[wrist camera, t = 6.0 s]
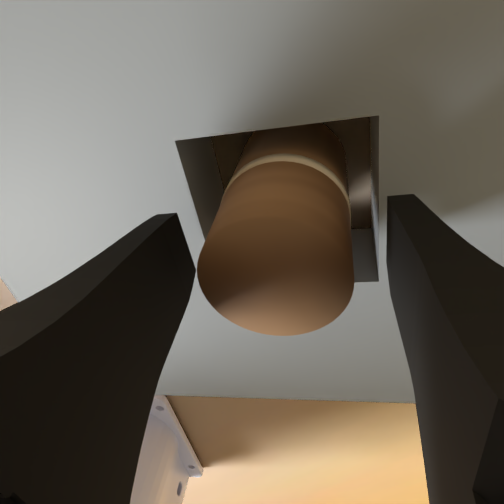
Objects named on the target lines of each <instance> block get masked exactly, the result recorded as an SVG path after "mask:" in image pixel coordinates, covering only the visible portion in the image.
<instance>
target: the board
mask: <svg viewBox="0 0 504 504" xmlns="http://www.w3.org/2000/svg"><path fill="white" fill-rule="evenodd" d="M362 117H370V144H371V228H362V229H351V237H352V252H353V267H354V290H353V295H352V297H351V300H350V302H349V304H348V306H347V307H346V309H345V310H344V311H343V312H342V313H341V315H340V316H339V317H337V318H336V319H335V320H334V321H332V322H331V323H329V324H328V325H326V326H324V327H322V328H320V329H318V330H315V331H312V332H309V333H305V334H300V335H293V336H274V335H266V334H261V333H257V332H254V331H250V330H247V329H245V328H242V327H240V326H238V325H236V324H234V323H232V322H231V321H229V320H228V319H226V318H225V317H223V316H222V315H221V314H220V313H218V312H217V311H216V310H215V309H214V308H213V307H212V306H211V304H210V303H209V302H208V301H207V299H206V298H205V296H204V294H203V293H202V290H201V288H200V286H199V282H198V278H197V262H198V258H199V255H200V252H201V250H202V247H203V245H204V243H205V240H206V238H207V235H208V233H209V231H210V228H211V226H212V224H213V221H214V219H215V216H216V214H217V212H218V209H219V207H220V204H221V201H222V197H223V195H224V189H223V184H222V180H221V176H220V172H219V168H218V164H217V160H216V156H215V152H214V148H213V144H212V140H211V136H217V135H225V134H233V133H241V132H249V131H257V130H265V129H273V128H281V127H289V126H297V125H305V124H313V123H321V122H329V121H338V120H346V119H354V118H362ZM406 194H414V195H416V196H417V197H418V198H419V199H420V200H421V201H422V202H423V203H424V204H425V205H426V206H427V207H428V208H429V209H431V210H432V211H433V212H434V213H435V214H436V215H437V216H438V217H439V218H440V219H441V220H442V221H444V222H445V223H446V224H447V225H448V226H449V227H450V228H452V229H453V230H454V231H455V232H456V233H457V234H459V235H460V236H461V237H462V238H463V239H465V240H466V241H467V242H469V243H470V244H471V245H473V246H474V247H475V248H477V249H478V250H479V251H481V252H482V253H484V254H485V255H486V256H488V257H489V258H491V259H492V260H493V261H495V262H497V263H498V264H500V265H501V266H503V267H504V0H0V278H1V279H2V280H3V282H4V283H5V285H6V286H7V287H8V289H9V290H10V292H11V293H12V295H13V296H14V297H15V299H16V300H17V302H20V301H22V300H24V299H26V298H28V297H30V296H32V295H34V294H35V293H37V292H39V291H41V290H43V289H44V288H46V287H48V286H50V285H51V284H53V283H55V282H57V281H58V280H60V279H62V278H63V277H65V276H66V275H68V274H70V273H71V272H73V271H74V270H76V269H77V268H79V267H80V266H82V265H83V264H85V263H86V262H88V261H89V260H91V259H92V258H94V257H95V256H96V255H98V254H99V253H101V252H102V251H104V250H105V249H106V248H108V247H109V246H111V245H112V244H113V243H115V242H116V241H118V240H119V239H120V238H122V237H123V236H125V235H126V234H127V233H129V232H130V231H132V230H133V229H134V228H136V227H137V226H139V225H140V224H142V223H143V222H145V221H146V220H148V219H149V218H151V217H153V216H155V215H157V214H168V213H177V214H178V217H179V220H180V223H181V226H182V229H183V232H184V235H185V238H186V241H187V244H188V247H189V250H190V253H191V256H192V259H193V262H194V265H195V268H196V274H195V278H194V283H193V288H192V292H191V296H190V300H189V303H188V305H187V308H186V311H185V313H184V316H183V318H182V321H181V324H180V326H179V329H178V331H177V334H176V336H175V339H174V341H173V344H172V346H171V349H170V351H169V354H168V356H167V359H166V361H165V364H164V366H163V369H162V372H161V375H160V378H159V381H158V384H157V388H156V392H155V395H170V396H201V397H233V398H264V399H295V400H327V401H358V402H389V403H416V402H415V395H414V389H413V384H412V379H411V374H410V369H409V366H408V362H407V358H406V354H405V350H404V346H403V342H402V339H401V335H400V331H399V327H398V323H397V319H396V315H395V311H394V308H393V304H392V300H391V296H390V288H389V281H388V272H387V264H386V245H387V196H393V195H406Z"/></svg>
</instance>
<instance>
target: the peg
mask: <svg viewBox="0 0 504 504" xmlns="http://www.w3.org/2000/svg"><path fill="white" fill-rule="evenodd" d="M197 278H198V282H199V286H200V288H201V290H202V293H203V294H204V296H205V298H206V299H207V301H208V302H209V303H210V304H211V306H212V307H213V308H214V309H215V310H216V311H217V312H218V313H220V314H221V315H222V316H223V317H225V318H226V319H228V320H229V321H231V322H232V323H234V324H236V325H238V326H240V327H242V328H245V329H247V330H250V331H254V332H257V333H261V334H266V335H274V336H293V335H300V334H305V333H309V332H312V331H315V330H318V329H320V328H322V327H324V326H326V325H328V324H329V323H331V322H332V321H334V320H335V319H336V318H337V317H339V316H340V315H341V313H342V312H343V311H344V310H345V309H346V307H347V306H348V304H349V302H350V300H351V297H352V295H353V290H354V267H353V252H352V237H351V208H350V201H349V194H348V179H347V165H346V156H345V152H344V149H343V147H342V144H341V142H340V141H339V139H338V138H337V136H336V135H335V134H334V133H333V132H332V131H331V130H330V129H329V128H328V127H326V126H325V125H323V124H322V123H313V124H305V125H297V126H289V127H281V128H273V129H265V130H257V131H255V132H254V133H253V134H252V135H251V137H250V138H249V140H248V141H247V143H246V145H245V148H244V150H243V152H242V155H241V157H240V159H239V162H238V164H237V167H236V169H235V171H234V174H233V176H232V178H231V180H230V182H229V183H228V185H227V188H226V190H225V192H224V195H223V197H222V201H221V204H220V207H219V209H218V212H217V214H216V216H215V219H214V221H213V224H212V226H211V228H210V231H209V233H208V235H207V238H206V240H205V243H204V245H203V247H202V250H201V252H200V255H199V258H198V262H197Z"/></svg>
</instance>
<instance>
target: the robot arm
mask: <svg viewBox="0 0 504 504" xmlns="http://www.w3.org/2000/svg"><path fill="white" fill-rule="evenodd" d="M386 264H387V272H388V281H389V288H390V296H391V300H392V304H393V308H394V311H395V315H396V319H397V323H398V327H399V331H400V335H401V339H402V342H403V346H404V350H405V354H406V358H407V362H408V366H409V369H410V374H411V379H412V384H413V389H414V395H415V402H416V409H417V416H418V422H419V429H420V436H421V444H422V451H423V458H424V465H425V472H426V480H427V488H428V495H429V503H430V504H504V267H503V266H501V265H500V264H498V263H497V262H495V261H493V260H492V259H491V258H489V257H488V256H486V255H485V254H484V253H482V252H481V251H479V250H478V249H477V248H475V247H474V246H473V245H471V244H470V243H469V242H467V241H466V240H465V239H463V238H462V237H461V236H460V235H459V234H457V233H456V232H455V231H454V230H453V229H452V228H450V227H449V226H448V225H447V224H446V223H445V222H444V221H442V220H441V219H440V218H439V217H438V216H437V215H436V214H435V213H434V212H433V211H432V210H431V209H429V208H428V207H427V206H426V205H425V204H424V203H423V202H422V201H421V200H420V199H419V198H418V197H417V196H416V195H414V194H406V195H393V196H387V245H386ZM195 274H196V268H195V265H194V262H193V259H192V256H191V253H190V250H189V247H188V244H187V241H186V238H185V235H184V232H183V229H182V226H181V223H180V220H179V217H178V214H177V213H168V214H157V215H155V216H153V217H151V218H149V219H148V220H146V221H145V222H143V223H142V224H140V225H139V226H137V227H136V228H134V229H133V230H132V231H130V232H129V233H127V234H126V235H125V236H123V237H122V238H120V239H119V240H118V241H116V242H115V243H113V244H112V245H111V246H109V247H108V248H106V249H105V250H104V251H102V252H101V253H99V254H98V255H96V256H95V257H94V258H92V259H91V260H89V261H88V262H86V263H85V264H83V265H82V266H80V267H79V268H77V269H76V270H74V271H73V272H71V273H70V274H68V275H66V276H65V277H63V278H62V279H60V280H58V281H57V282H55V283H53V284H51V285H50V286H48V287H46V288H44V289H43V290H41V291H39V292H37V293H35V294H34V295H32V296H30V297H28V298H26V299H24V300H22V301H20V302H18V303H16V304H14V305H12V306H10V307H8V308H6V309H4V310H2V311H0V504H182V502H183V498H184V494H185V490H186V486H187V483H188V479H189V477H201V476H202V474H203V468H202V466H201V464H200V462H199V460H198V458H197V456H196V454H195V452H194V450H193V448H192V447H191V445H190V443H189V441H188V439H187V437H186V435H185V433H184V431H183V429H182V427H181V425H180V423H179V421H178V419H177V417H176V415H175V413H174V411H173V409H172V407H171V405H170V403H169V401H168V399H167V398H166V397H165V396H164V395H155V392H156V388H157V384H158V381H159V378H160V375H161V372H162V369H163V366H164V364H165V361H166V359H167V356H168V354H169V351H170V349H171V346H172V344H173V341H174V339H175V336H176V334H177V331H178V329H179V326H180V324H181V321H182V318H183V316H184V313H185V311H186V308H187V305H188V303H189V300H190V296H191V292H192V288H193V283H194V278H195Z"/></svg>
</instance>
